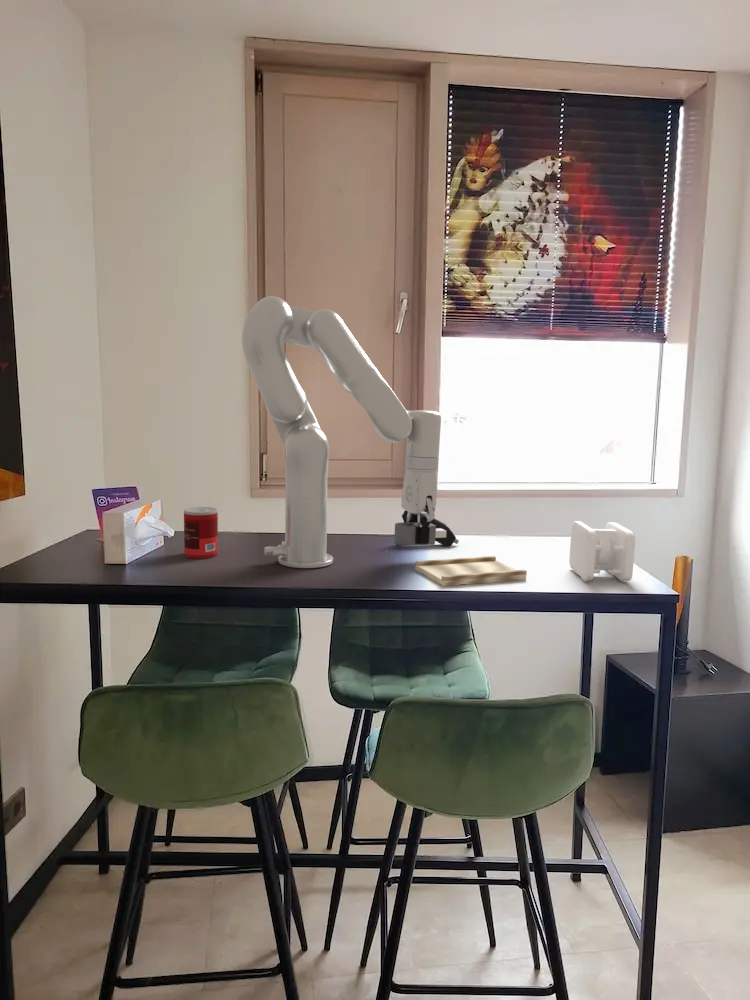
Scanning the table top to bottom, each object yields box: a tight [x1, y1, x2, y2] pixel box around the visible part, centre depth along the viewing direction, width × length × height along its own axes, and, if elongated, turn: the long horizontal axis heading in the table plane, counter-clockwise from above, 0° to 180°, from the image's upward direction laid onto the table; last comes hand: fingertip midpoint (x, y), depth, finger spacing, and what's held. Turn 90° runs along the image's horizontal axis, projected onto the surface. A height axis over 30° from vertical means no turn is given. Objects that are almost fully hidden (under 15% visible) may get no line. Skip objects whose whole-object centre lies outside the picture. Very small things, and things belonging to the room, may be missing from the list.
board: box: [415, 555, 528, 587], centre depth 157 cm, size 20×14×2 cm
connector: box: [393, 522, 446, 546], centre depth 167 cm, size 12×4×4 cm, turn 111°
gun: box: [401, 510, 460, 548], centre depth 185 cm, size 3×16×10 cm, turn 89°
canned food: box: [183, 506, 219, 560], centre depth 167 cm, size 8×8×11 cm
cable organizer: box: [568, 520, 636, 583], centre depth 158 cm, size 15×11×12 cm
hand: (417, 540), depth 167 cm, fingers closed on connector, 4 cm apart
